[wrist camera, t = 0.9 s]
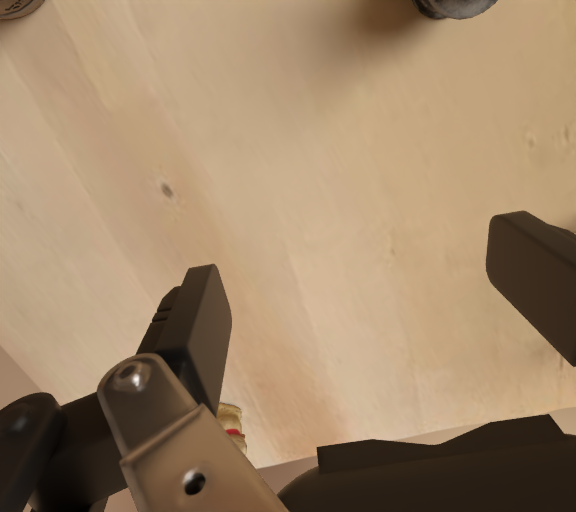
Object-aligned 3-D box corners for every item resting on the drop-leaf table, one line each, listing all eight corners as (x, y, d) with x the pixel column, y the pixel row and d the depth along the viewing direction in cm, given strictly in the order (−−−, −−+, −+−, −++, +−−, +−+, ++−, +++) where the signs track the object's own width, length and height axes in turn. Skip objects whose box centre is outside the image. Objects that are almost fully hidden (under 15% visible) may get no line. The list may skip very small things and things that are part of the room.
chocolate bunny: (238, 433, 48) (231, 518, 39) (178, 422, 46) (158, 507, 37) (251, 406, 45) (247, 490, 37) (189, 393, 44) (169, 477, 35)
